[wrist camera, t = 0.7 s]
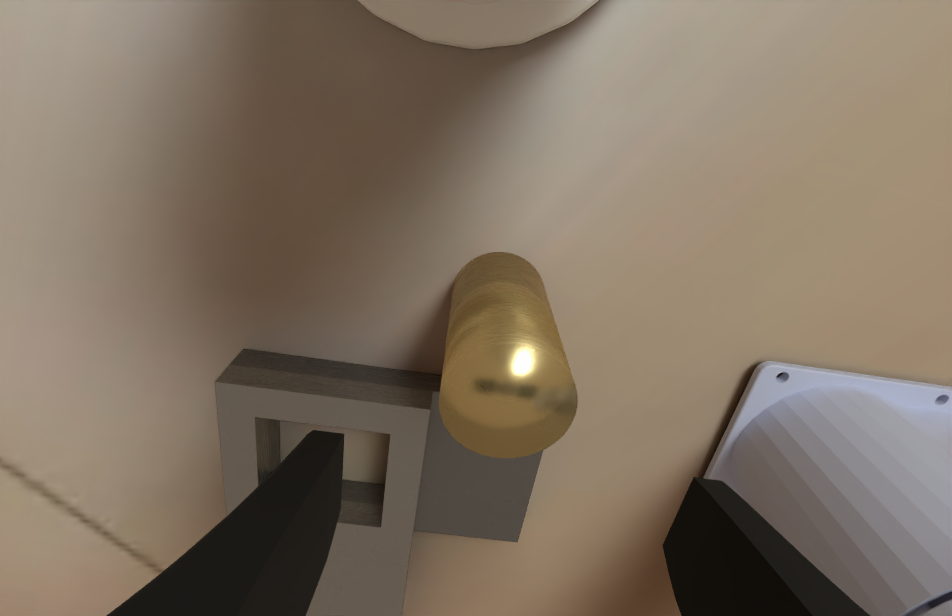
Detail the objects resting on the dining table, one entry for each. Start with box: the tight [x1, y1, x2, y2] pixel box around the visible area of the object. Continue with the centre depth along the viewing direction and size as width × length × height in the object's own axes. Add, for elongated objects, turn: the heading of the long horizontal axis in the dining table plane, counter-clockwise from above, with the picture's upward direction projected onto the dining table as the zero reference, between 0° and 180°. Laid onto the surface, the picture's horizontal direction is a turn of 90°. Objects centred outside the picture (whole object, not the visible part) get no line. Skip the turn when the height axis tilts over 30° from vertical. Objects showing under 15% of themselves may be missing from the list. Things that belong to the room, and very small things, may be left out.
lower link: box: [231, 349, 543, 542], centre depth 21 cm, size 13×8×1 cm, turn 81°
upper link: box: [215, 364, 433, 616], centre depth 23 cm, size 8×17×2 cm, turn 171°
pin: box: [439, 252, 577, 458], centre depth 16 cm, size 4×4×7 cm
